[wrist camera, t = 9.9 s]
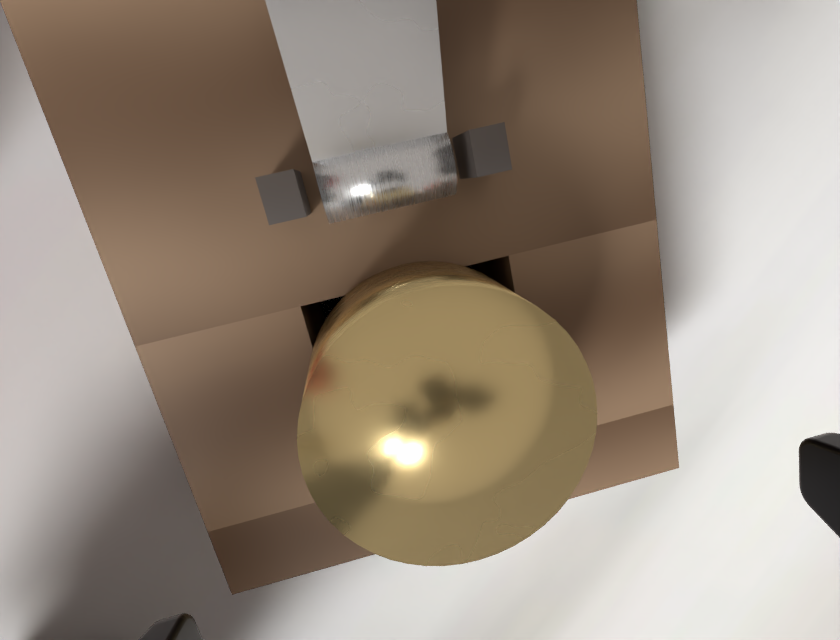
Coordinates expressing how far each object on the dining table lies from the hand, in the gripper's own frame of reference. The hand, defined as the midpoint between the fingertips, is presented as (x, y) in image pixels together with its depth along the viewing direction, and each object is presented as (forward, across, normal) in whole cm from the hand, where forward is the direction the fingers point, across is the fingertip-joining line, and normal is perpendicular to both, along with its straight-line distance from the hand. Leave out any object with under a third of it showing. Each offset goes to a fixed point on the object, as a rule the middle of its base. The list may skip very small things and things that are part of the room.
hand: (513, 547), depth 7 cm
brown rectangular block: (+12, 0, -4) cm, 13 cm away
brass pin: (+12, 0, 0) cm, 12 cm away
